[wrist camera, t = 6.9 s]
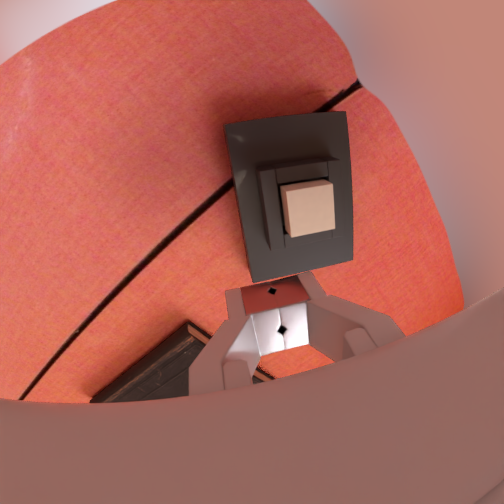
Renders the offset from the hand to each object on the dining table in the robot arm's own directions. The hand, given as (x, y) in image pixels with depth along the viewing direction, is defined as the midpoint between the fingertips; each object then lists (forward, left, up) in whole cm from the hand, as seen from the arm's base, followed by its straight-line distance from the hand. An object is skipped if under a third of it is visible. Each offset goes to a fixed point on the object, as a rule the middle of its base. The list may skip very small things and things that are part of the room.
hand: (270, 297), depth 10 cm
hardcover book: (+25, -13, -16) cm, 33 cm away
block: (+1, +5, -16) cm, 17 cm away
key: (+1, +5, -13) cm, 14 cm away
